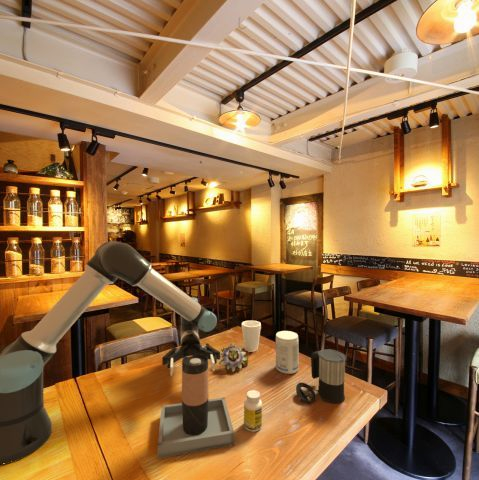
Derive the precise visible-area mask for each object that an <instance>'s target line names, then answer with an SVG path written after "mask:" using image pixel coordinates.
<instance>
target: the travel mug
mask: <svg viewBox="0 0 479 480" xmlns="http://www.w3.org/2000/svg"><path fill="white" fill-rule="evenodd" d="M208 400H209V359H208V358H207V356H205V355H202V354H194V355H192V356H186V357H184V358H182V360H181V403H182V414H183V430H184V432H185V433H186V434H189V435H199V434H201V433H203V432H204V431H205V430H206V429H207V425H208Z"/></svg>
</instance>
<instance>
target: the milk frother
mask: <svg viewBox="0 0 479 480" xmlns="http://www.w3.org/2000/svg"><path fill="white" fill-rule="evenodd" d="M346 360H347V356H346V355H345V354H344V353H342V352H341V351H339V350H335V349H331V348H329V349H327V348H326V349H321V350H317V351H314V352H312V353H311V356H310V364H311V365H310V366H311V367H310V368H311V377H312V378H313V379H315V380H316V379H318V385H317V386H318V387H317V389H315V388H314V387H313V386H311V385H309V384H308V383H306V382H299V383H297V384H296V388H295V392H296V395H297V396H298V398H299V399H300V400H301V401H302V402H304V403H310V404H311V403H313V402H315V401H316V398H317V395H318V397H320V398H321V400H323V401H324V402H328V403H331V404H339V403H342V402H344V400H346V399H345V398H346V396H345V376H346V375H345V373H346V372H345V371H346V369H345V367H346ZM303 388H305V389H307V390H309V392H310V393H311V398H310V397H309V396H310V394H309V393H307V392H306V391H305V390H303ZM316 392H317V395H316Z"/></svg>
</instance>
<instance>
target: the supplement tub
mask: <svg viewBox="0 0 479 480" xmlns="http://www.w3.org/2000/svg"><path fill="white" fill-rule="evenodd" d="M299 350H300V349H299V335H298V333H297V332H294V331H290V330H281V331H277V332H276V334H275V368H276V370H277V371H278V372H280V373H282V374H285V375H291V374H295V373H297V372H298V371H299V367H300V365H299V363H300V362H299V360H300V359H299V356H300V355H299V353H300V352H299Z"/></svg>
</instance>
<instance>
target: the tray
mask: <svg viewBox="0 0 479 480" xmlns="http://www.w3.org/2000/svg"><path fill="white" fill-rule="evenodd" d="M160 410H161V411H160V419H159V421H160V422H159V429H158V430H159V431H158V439H157V440H158V441H157V460H159V459H165V458H170V457H177V456H180V455H187V454H194V453H197V452H204V451H209V450H214V449H220V448H226V447H233V446H235V431H234V427H233V423H232V420H231V415H230V412H229V408H228V406H227V402H226V398H225V397H217V398H210V399H209V398H208V425H207V429H206V430H205V431H204V432H203V433H201V434H199V435H189V434H186V433H185V432H184V430H183V414H182V402H181V403H174V404H173V403H172V404H166V405H161V409H160Z"/></svg>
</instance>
